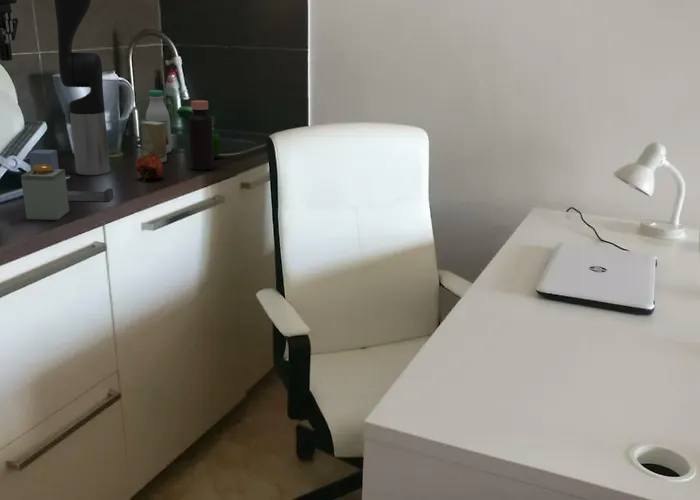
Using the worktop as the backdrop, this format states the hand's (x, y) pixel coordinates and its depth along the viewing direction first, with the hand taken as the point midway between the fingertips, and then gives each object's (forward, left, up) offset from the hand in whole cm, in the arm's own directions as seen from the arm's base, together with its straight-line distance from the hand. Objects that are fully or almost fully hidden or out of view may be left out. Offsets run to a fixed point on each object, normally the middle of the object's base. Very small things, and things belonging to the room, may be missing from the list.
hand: (6, 60), depth 159 cm
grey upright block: (+15, +12, -33) cm, 38 cm away
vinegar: (-36, +38, -33) cm, 62 cm away
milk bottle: (-59, +20, -33) cm, 71 cm away
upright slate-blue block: (+1, +6, -33) cm, 34 cm away
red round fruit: (-21, +26, -33) cm, 47 cm away
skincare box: (-44, +22, -33) cm, 59 cm away
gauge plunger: (+15, +12, -29) cm, 34 cm away
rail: (+1, +12, -33) cm, 35 cm away
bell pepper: (-51, +37, -33) cm, 71 cm away
